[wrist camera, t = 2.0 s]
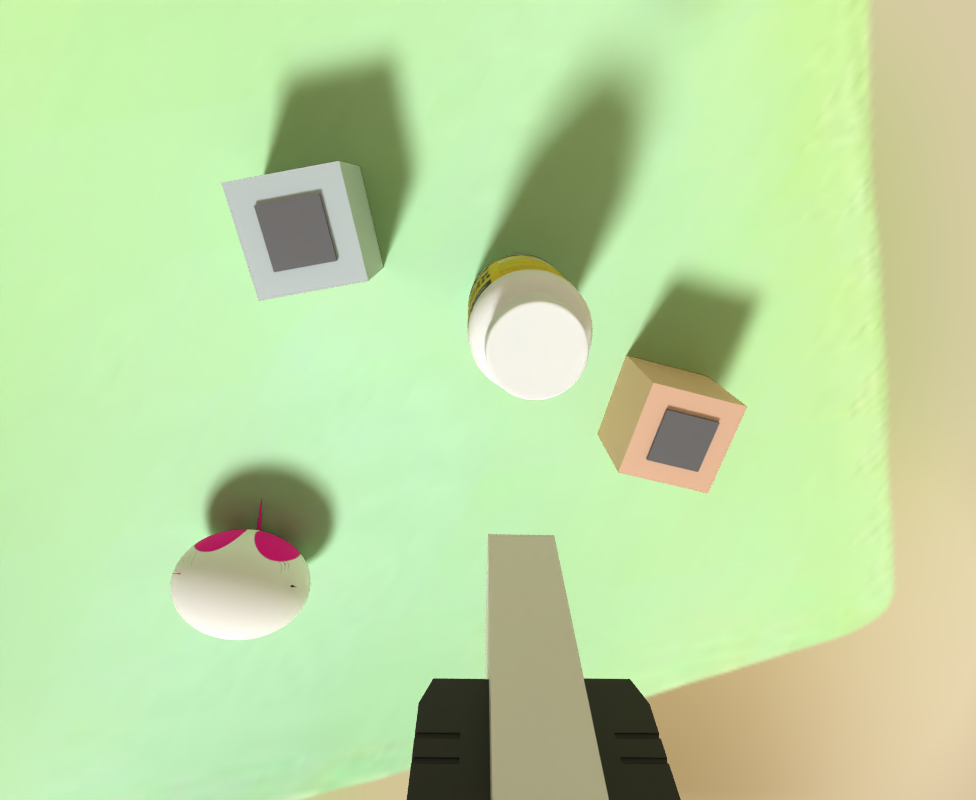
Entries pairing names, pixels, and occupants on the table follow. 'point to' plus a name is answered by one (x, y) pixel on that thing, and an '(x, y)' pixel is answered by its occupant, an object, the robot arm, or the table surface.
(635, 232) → the table surface
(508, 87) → the table surface
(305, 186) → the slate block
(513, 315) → the supplement bottle
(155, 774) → the table surface
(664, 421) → the terracotta block
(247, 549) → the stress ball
